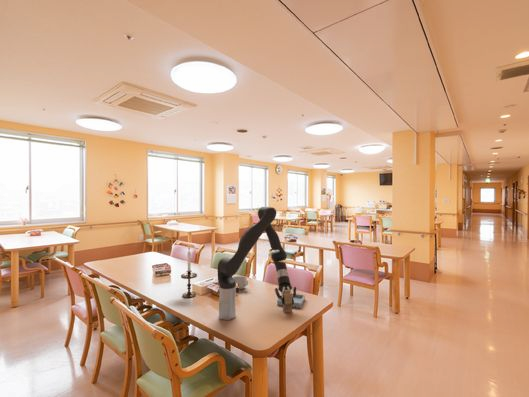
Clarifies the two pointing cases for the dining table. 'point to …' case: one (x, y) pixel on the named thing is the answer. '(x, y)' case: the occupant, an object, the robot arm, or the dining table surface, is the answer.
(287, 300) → the wick block
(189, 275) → the candlestick
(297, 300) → the candle dish
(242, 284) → the teacup
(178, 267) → the dining table surface
